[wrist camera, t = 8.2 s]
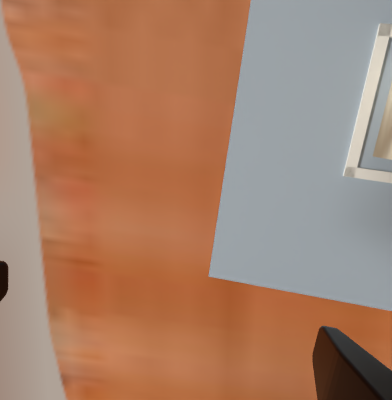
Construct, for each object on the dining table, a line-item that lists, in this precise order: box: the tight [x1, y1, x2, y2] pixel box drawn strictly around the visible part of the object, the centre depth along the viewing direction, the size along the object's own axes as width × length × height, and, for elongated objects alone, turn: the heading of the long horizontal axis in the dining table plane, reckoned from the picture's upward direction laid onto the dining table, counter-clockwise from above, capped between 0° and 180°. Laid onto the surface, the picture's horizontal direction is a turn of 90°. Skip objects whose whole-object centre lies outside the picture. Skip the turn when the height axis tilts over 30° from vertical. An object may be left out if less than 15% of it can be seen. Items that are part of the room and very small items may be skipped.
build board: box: [209, 0, 392, 311], centre depth 19 cm, size 18×16×1 cm
